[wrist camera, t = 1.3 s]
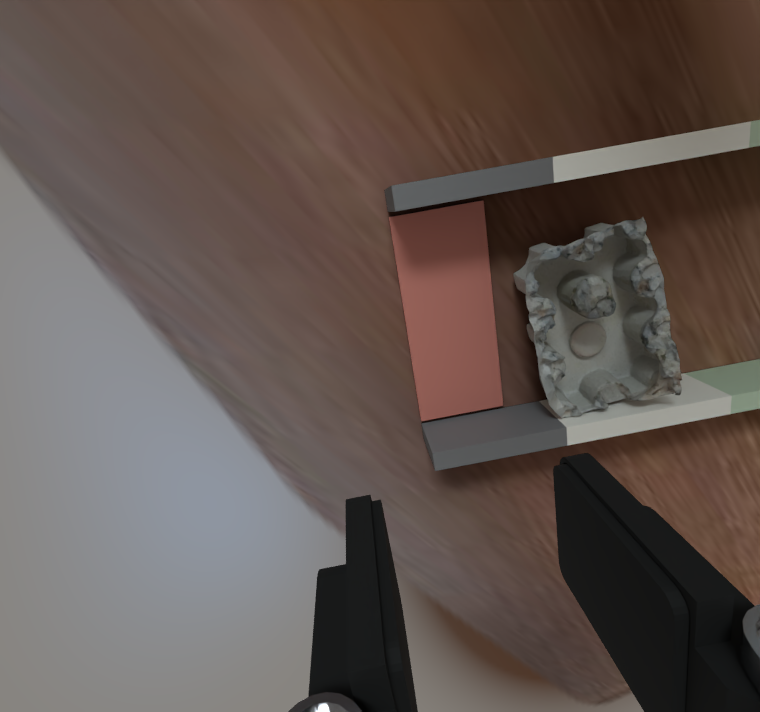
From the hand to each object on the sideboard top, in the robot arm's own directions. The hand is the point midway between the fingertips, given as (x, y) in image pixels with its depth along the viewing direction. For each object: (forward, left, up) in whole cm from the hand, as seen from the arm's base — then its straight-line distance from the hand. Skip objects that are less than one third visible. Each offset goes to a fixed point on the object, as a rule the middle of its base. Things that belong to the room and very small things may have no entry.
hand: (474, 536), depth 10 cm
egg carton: (0, +14, -20) cm, 24 cm away
